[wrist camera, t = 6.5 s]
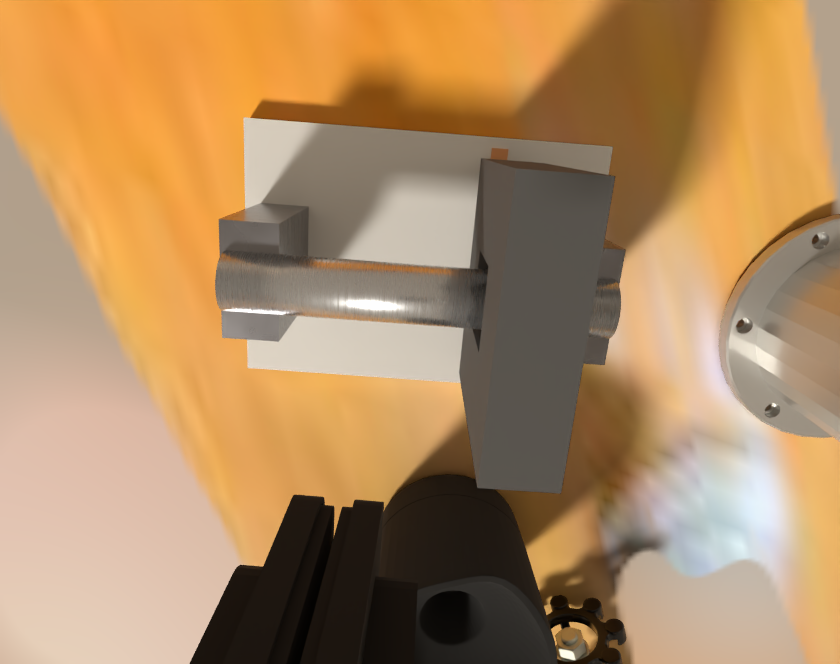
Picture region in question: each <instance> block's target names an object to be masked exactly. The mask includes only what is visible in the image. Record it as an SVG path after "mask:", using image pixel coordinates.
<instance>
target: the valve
mask: <svg viewBox="0 0 840 664" xmlns="http://www.w3.org/2000/svg"><path fill="white" fill-rule="evenodd" d="M550 605H551V609H552V612H551V613H550V614H548V615H546V616H547V619H548V622H549V625H550V628H551V629H552V628H553V627H554V626H556V625H559V624H560V625H561V628H562V630H561V631H559V632H558V633H557V634H556V635H555V637H556V641H557V645H556V651H557V658H558V659H557V664H623V663H622V659H621V654H620V652H619V651H618V650H616V649H615V648H609V641H611V640H618V645H622V644H623V643H624V642H625V641H626V633H625V629H624V625H623V623H622V622H621V621H620V620H618V619H609V620H608V621H606V623H604V622H601V621H600V620H599V619H598V618H600V619H603V617H604V615H603V610H602V606H601V603H600V601H599V600H598V599H596V598H588V599H586V600H585V601H584V603H583V607H582V608H580V609H574V608H570V607H569V604H568V600H567V599H566V597H564V596H562V595H559V596H554V597H553V598H552V599H551V601H550ZM597 617H598V618H597ZM569 622H579V623H582V624H585V625H587V626H588V627H590V628H591V629H592V630H593V631H594V632H595V633H596V634H597V636H598V642H597V645H596V647H595V649H594V650H593V651H592V652H591V653H590V651H589V646H588V644H587V642H586V641H585V640H584V639H583V636H582V633H581V630H578V629H575V628H571V627H570V625H569Z"/></svg>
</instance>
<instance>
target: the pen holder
mask: <svg viewBox="0 0 840 664" xmlns="http://www.w3.org/2000/svg"><path fill="white" fill-rule="evenodd" d="M379 577H388V578H400V579H412V580H418V592H417V612H416V631H415V651H414V664H557V651H556V646H555V641H554V638H553V635H552V632H551V628H550V625H549V622H548V619H547V616H546V612H545V609H544V606H543V603H542V599H541V596H540V593H539V590H538V587H537V583H536V580H535V577H534V574H533V571H532V567H531V564H530V561H529V558H528V555H527V551H526V548H525V545H524V542H523V540H522V537H521V534H520V531H519V528H518V525H517V522H516V519H515V517H514V514H513V512H512V510H511V508H510V507H509V505H508V503H507V502H506V501H505V500H504V498H503V497H502V496H501V495H500V494H499V493H498V492H496V491H495V490H494V489H485V488H477V483H476V480H475V479H472V478H469V477H465V476H458V475H438V476H433V477H428V478H425V479H422V480H419V481H417V482H414V483H412V484H410V485H409V486H407V487H406V488H404V489H403V490H401V491H400V492H399V493H398V494H397V495H396V496H395V497H394V498H393V499H392V500H391V501H390V502H389V504H388V505H387V507H386V508H385V510H384V512H383V526H382V541H381V557H380V572H379Z"/></svg>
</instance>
